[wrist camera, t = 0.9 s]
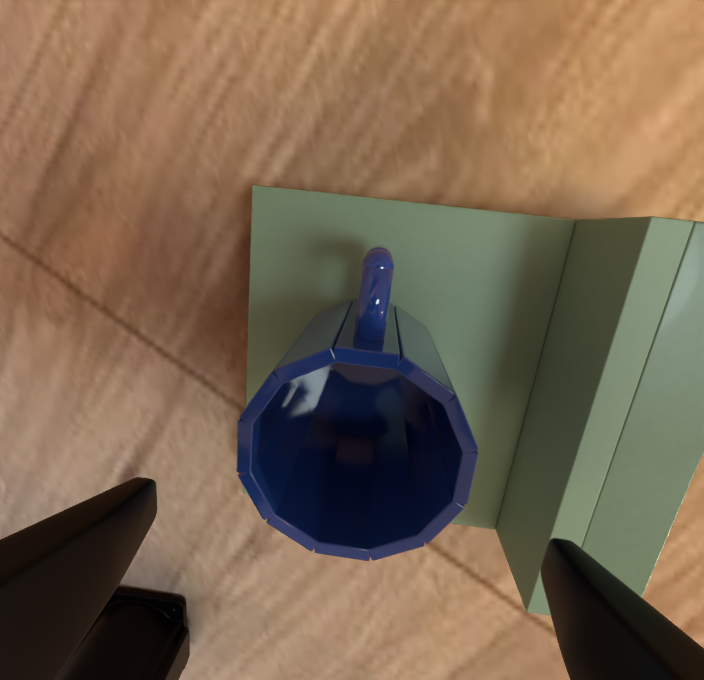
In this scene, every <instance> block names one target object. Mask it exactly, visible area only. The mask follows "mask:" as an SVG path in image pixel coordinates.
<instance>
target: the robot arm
mask: <svg viewBox="0 0 704 680" xmlns="http://www.w3.org/2000/svg"><path fill="white" fill-rule="evenodd" d="M156 513H157V492H156V483H155V481H154V480H153V479H148V478H141V477H136V478H133V479H131V480H129V481H127V482H125V483H122V484H120V485H118V486H116V487H114V488H112V489H109V490H107V491H105V492H103V493H101V494H99V495H96V496H94V497H92V498H90V499H88V500H86V501H83V502H81V503H79V504H77V505H75V506H73V507H70V508H68V509H66V510H64V511H62V512H60V513H57V514H55V515H53V516H51V517H49V518H47V519H44V520H42V521H40V522H38V523H36V524H34V525H31V526H29V527H27V528H25V529H23V530H21V531H18V532H16V533H14V534H12V535H10V536H7V537H5V538H3V539H1V540H0V680H179V678H180V675H181V673H182V671H183V669H184V668H185V666H186V664H187V661H188V658H189V655H190V652H189V630H188V627H187V616H186V602H185V600H184V599H182V598H179V597H173V596H167V595H161V594H154V593H148V592H142V591H135V590H129V589H123V588H117V587H118V585H119V583H120V582H121V580H122V578H123V576H124V575H125V573H126V571H127V569H128V567H129V565H130V564H131V562H132V560H133V558H134V556H135V554H136V553H137V551H138V549H139V547H140V545H141V543H142V541H143V540H144V538H145V536H146V534H147V532H148V530H149V529H150V527H151V525H152V523H153V521H154V519H155V517H156ZM541 579H542V583H543V587H544V591H545V594H546V598H547V602H548V606H549V609H550V613H551V617H552V621H553V625H554V628H555V632H556V636H557V640H558V643H559V647H560V650H561V654H562V657H563V660H564V663H565V666H566V669H567V672H568V674H569V677H570V680H704V648H703V647H701V646H700V645H699V644H698V643H696V642H695V641H694V640H693V639H692V638H690V637H689V636H688V635H687V634H685V633H684V632H683V631H682V630H681V629H679V628H678V627H677V626H676V625H674V624H673V623H672V622H671V621H670V620H668V619H667V618H666V617H665V616H663V615H662V614H661V613H660V612H659V611H657V610H656V609H655V608H654V607H652V606H651V605H650V604H649V603H648V602H646V601H645V600H644V599H643V598H641V597H640V596H639V595H638V594H636V593H635V592H634V591H633V590H632V589H630V588H629V587H628V586H627V585H625V584H624V583H623V582H622V581H621V580H619V579H618V578H617V577H616V576H614V575H613V574H612V573H611V572H610V571H608V570H607V569H606V568H605V567H603V566H602V565H601V564H600V563H599V562H597V561H596V560H595V559H594V558H592V557H591V556H590V555H589V554H587V553H586V552H585V551H584V550H583V549H581V548H580V547H579V546H578V545H576V544H575V543H574V542H573V541H571V540H566V539H559V538H552V539H550V541H549V543H548V545H547V548H546V552H545V555H544V558H543V561H542V564H541Z"/></svg>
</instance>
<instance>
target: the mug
mask: <svg viewBox="0 0 704 680" xmlns="http://www.w3.org/2000/svg"><path fill="white" fill-rule="evenodd" d="M393 273H394V261H393V258H392V255H391V252H390V250H389V248H388V247H386V246H385V245H382V244H377V245H374V246H372V247H371V248H370V249H369V251H368V252H367V254H366V256H365V257H364V259H363V261H362V266H361V275H360V284H359V293H358V299H354V301H353V300H349V301H346V302H344V303H342V304H339V305H337V306H335V307H332V308H330V309H328V310H325V311H323V312H321V313H318V314H317V315H316V316H314V317H313V319H312V320H311V321H310V323H309V324H308V325H307V326H306V328H305V329H304V330H303V332H302V333H301V334H300V335H299V337H298V338H297V339H296V341H295V342H294V343H293V344H292V346H291V347H290V348H289V350H288V351H287V352H286V353H285V355H284V356H283V357H282V358H281V360H280V361H279V362H278V364H277V365H276V366H275V367H274V369H273V370H272V371H271V373H270V374H269V375H268V377H267V378H266V380H265V381H264V382H263V384H262V385H261V386H260V388H259V389H258V391H257V392H256V393H255V395H254V396H253V398H252V399H251V400H250V402H249V403H248V405H247V406H246V407H245V409H244V410H243V412H242V413H241V414H240V419H239V420H238V432H237V472H239V474H238V477H239V479H240V480H241V482H242V484H243V486H244V487H245V489H246V491H247V492H248V494H249V496H250V498H251V499H252V501H253V503H254V504H255V506H256V508H257V510H258V511H259V513H260V515H261V516H262V518H263V519H264V520H266V519H267V524H269V525H271V526H272V527H274V528H275V529H277V530H278V531H280V532H281V533H283V534H285V535H286V536H288V537H289V538H291V539H292V540H294V541H295V542H297V543H299V544H300V545H302V546H303V547H305V548H306V549H308V550H309V551H312V550H313V549H314V548H315V553H318V554H325V555H331V556H338V557H345V558H351V559H358V560H365V561H369V559H370V557H371V559H372V560H373V561H374V560H377V559H381V558H384V557H388V556H391V555H395V554H398V553H402V552H405V551H409V550H412V549H416V548H419V547H423V546H424V542H425V543H427V544H428V543H429V542H430V541H431V540H432V539H434V538H435V537H436V536H437V535H438V534H439V533H440V532H441V531H442V530H443V529H444V528H445V527H446V526H447V525H448V524H449V523H450V522H451V521H452V520H453V519H454V518H455V517H456V516H457V515H458V514H459V513H460V512H461V511H463V510H464V508H465V505H466V504H467V503H468V499H469V495H470V490H471V486H472V482H473V477H474V473H475V469H476V464H477V460H478V456H479V453H478V446H477V443H476V441H475V438H474V436H473V433H472V431H471V428H470V426H469V423H468V421H467V418H466V416H465V413H464V411H463V408H462V406H461V403H460V401H459V398H458V396H457V394H456V391H455V389H454V387H453V385H452V382H451V380H450V378H449V376H448V373H447V371H446V369H445V367H444V364H443V362H442V360H441V358H440V355H439V353H438V351H437V349H436V346H435V344H434V342H433V340H432V337H431V335H430V333H429V331H428V330H427V329H426V327H425V326H424V325H422V324H421V323H420V322H418V321H417V320H416V319H414V318H413V317H412V316H410V315H409V314H408V313H406V312H405V311H404V310H402V309H401V308H400V307H398V306H397V305H395V306H393V304H392V303H390V295H391V288H392V281H393ZM464 504H465V505H464Z"/></svg>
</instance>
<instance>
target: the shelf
mask: <svg viewBox="0 0 704 680" xmlns="http://www.w3.org/2000/svg"><path fill="white" fill-rule="evenodd" d="M377 244H382V245H385V246H386V247H388V248H389V250H390V252H391V255H392V258H393V261H394V273H393V281H392V288H391V295H390V303H392V304H393V306H395V305H397V306H398V307H400V308H401V309H402V310H404V311H405V312H406V313H408V314H409V315H410V316H412V317H413V318H414V319H416V320H417V321H418V322H420V323H421V324H422V325H424V326H425V327H426V329H427V330H428V331H429V333H430V335H431V337H432V340H433V342H434V344H435V346H436V349H437V351H438V353H439V355H440V358H441V360H442V362H443V364H444V367H445V369H446V371H447V373H448V376H449V378H450V380H451V382H452V385H453V387H454V389H455V391H456V394H457V396H458V398H459V401H460V403H461V406H462V408H463V411H464V413H465V416H466V418H467V421H468V423H469V426H470V428H471V431H472V433H473V436H474V438H475V441H476V443H477V446H478V453H479V456H478V460H477V464H476V469H475V473H474V477H473V482H472V486H471V490H470V495H469V499H468V503H467V504H466V505H465V504H464V505H465V508H464V510H463V511H461V512H460V513H459V514H458V515H457V516H456V517H455V518H454V519H453V520H452V521H451V522H450V523H453V524H460V525H467V526H474V527H481V528H487V529H496V531H497V534H498V537H499V539H500V542H501V545H502V548H503V550H504V553H505V556H506V558H507V561H508V564H509V566H510V569H511V572H512V574H513V577H514V580H515V582H516V585H517V588H518V590H519V593H520V596H521V598H522V601H523V604H524V606H525V609H526V611H527V612H529V613H536V614H542V615H549V616H551V613H550V609H549V606H548V602H547V598H546V594H545V591H544V587H543V583H542V579H541V564H542V561H543V558H544V555H545V552H546V548H547V545H548V543H549V541H550V539H552V538H559V539H566V540H571V541H573V542H574V543H575V544H576V545H578V546H579V547H580V548H581V549H583V550H584V551H585V552H586V553H587V554H589V555H590V556H591V557H592V558H594V559H595V560H596V561H597V562H599V563H600V564H601V565H602V566H603V567H605V568H606V569H607V570H608V571H610V572H611V573H612V574H613V575H614V576H616V577H617V578H618V579H619V580H621V581H622V582H623V583H624V584H625V585H627V586H628V587H629V588H630V589H632V590H633V591H634V592H635V593H636V594H638V595H639V596H640V597H641V598H642V596H643V594H644V591H645V589H646V587H647V584H648V582H649V579H650V577H651V575H652V572H653V570H654V568H655V565H656V563H657V561H658V558H659V556H660V554H661V551H662V549H663V547H664V544H665V542H666V539H667V537H668V535H669V532H670V530H671V528H672V525H673V523H674V521H675V518H676V516H677V514H678V511H679V509H680V506H681V504H682V502H683V499H684V497H685V495H686V492H687V490H688V488H689V485H690V483H691V481H692V478H693V476H694V474H695V471H696V469H697V466H698V464H699V462H700V459H701V457H702V455H703V452H704V222H700V221H691V220H682V219H673V218H663V217H654V216H649V217H626V218H604V219H581V220H575V219H567V218H558V217H549V216H539V215H530V214H521V213H511V212H502V211H493V210H483V209H474V208H465V207H456V206H446V205H437V204H428V203H418V202H409V201H400V200H391V199H381V198H372V197H363V196H353V195H344V194H335V193H326V192H316V191H307V190H298V189H288V188H279V187H270V186H261V185H253V186H252V208H251V242H250V277H249V311H248V345H247V380H246V406H247V405H248V403H249V402H250V400H251V399H252V398H253V396H254V395H255V393H256V392H257V391H258V389H259V388H260V386H261V385H262V384H263V382H264V381H265V380H266V378H267V377H268V375H269V374H270V373H271V371H272V370H273V369H274V367H275V366H276V365H277V364H278V362H279V361H280V360H281V358H282V357H283V356H284V355H285V353H286V352H287V351H288V350H289V348H290V347H291V346H292V344H293V343H294V342H295V341H296V339H297V338H298V337H299V335H300V334H301V333H302V332H303V330H304V329H305V328H306V326H307V325H308V324H309V323H310V321H311V320H312V319H313V317H314V316H316V315H317V314H318V313H321V312H323V311H325V310H328V309H330V308H332V307H335V306H337V305H339V304H342V303H344V302H346V301H349V300H353V301H354V299H358V293H359V284H360V275H361V266H362V261H363V259H364V257H365V256H366V254H367V252H368V251H369V249H370V248H371V247H372V246H374V245H377ZM243 493H245V494H248V492H247V491H246V489H245V487H244V486H243Z"/></svg>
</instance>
